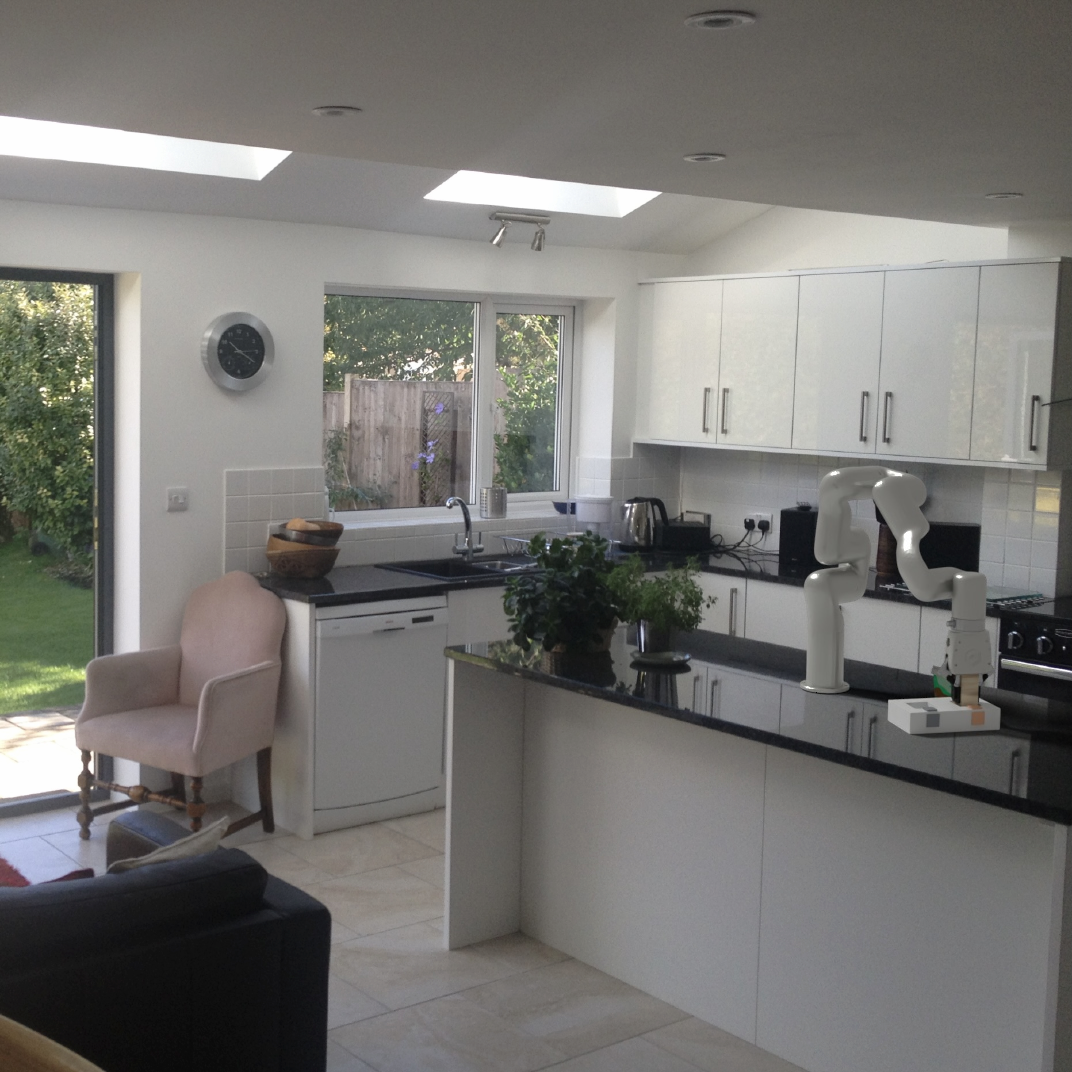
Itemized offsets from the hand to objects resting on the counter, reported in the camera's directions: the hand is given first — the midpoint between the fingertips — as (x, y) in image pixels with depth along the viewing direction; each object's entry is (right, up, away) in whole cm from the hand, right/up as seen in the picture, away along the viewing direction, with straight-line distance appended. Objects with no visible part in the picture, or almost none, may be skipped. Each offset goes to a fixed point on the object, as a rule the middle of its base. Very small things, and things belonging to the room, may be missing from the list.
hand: (965, 700), depth 299 cm
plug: (0, -2, 0) cm, 2 cm away
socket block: (-5, -6, 0) cm, 8 cm away
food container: (+4, -4, +17) cm, 18 cm away
